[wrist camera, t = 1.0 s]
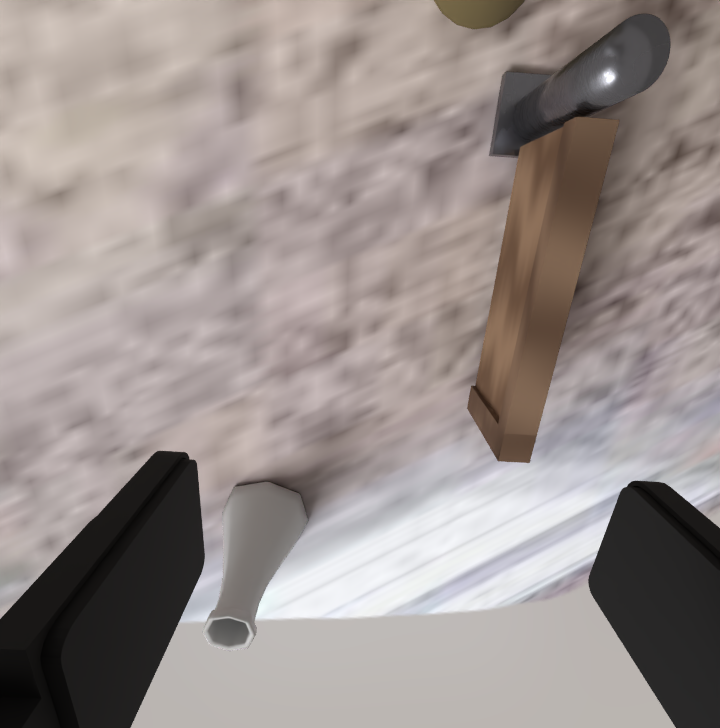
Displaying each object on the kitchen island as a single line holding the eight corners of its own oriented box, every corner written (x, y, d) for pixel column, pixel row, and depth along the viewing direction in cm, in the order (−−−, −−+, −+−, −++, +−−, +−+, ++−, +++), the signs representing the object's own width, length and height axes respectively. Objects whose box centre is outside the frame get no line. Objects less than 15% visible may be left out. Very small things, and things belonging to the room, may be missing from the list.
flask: (223, 474, 31) (164, 585, 21) (312, 483, 31) (292, 596, 22) (223, 542, 33) (170, 667, 24) (305, 550, 34) (284, 676, 24)
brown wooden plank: (515, 146, 22) (576, 116, 16) (546, 148, 22) (619, 119, 16) (467, 408, 27) (498, 461, 21) (491, 409, 28) (529, 462, 21)
